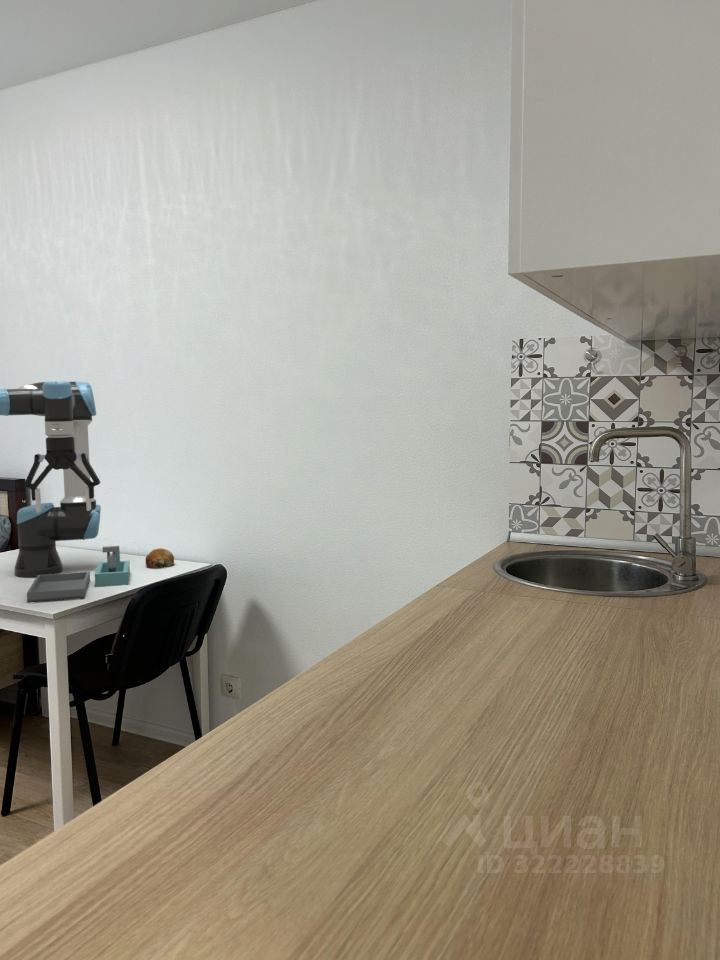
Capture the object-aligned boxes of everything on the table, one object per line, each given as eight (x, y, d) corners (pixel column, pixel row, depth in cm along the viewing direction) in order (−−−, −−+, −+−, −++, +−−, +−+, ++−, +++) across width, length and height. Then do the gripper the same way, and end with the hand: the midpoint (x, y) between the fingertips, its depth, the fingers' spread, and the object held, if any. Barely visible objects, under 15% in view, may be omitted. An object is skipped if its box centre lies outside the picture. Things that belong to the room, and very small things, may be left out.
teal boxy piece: (98, 574, 259) (97, 548, 258) (129, 572, 262) (128, 546, 261) (95, 586, 242) (93, 558, 241) (128, 584, 245) (127, 556, 244)
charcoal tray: (38, 584, 246) (38, 575, 246) (90, 580, 250) (89, 571, 250) (27, 603, 224) (26, 592, 223) (84, 598, 228) (83, 588, 228)
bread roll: (176, 573, 275) (179, 552, 278) (167, 567, 265) (170, 545, 268) (150, 573, 276) (152, 551, 279) (139, 567, 266) (142, 544, 269)
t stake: (104, 581, 249) (102, 546, 247) (120, 580, 250) (119, 545, 249) (104, 583, 246) (102, 548, 245) (120, 582, 248) (119, 547, 246)
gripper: (9, 438, 211) (14, 514, 214) (103, 436, 215) (107, 511, 218) (16, 436, 219) (21, 510, 221) (107, 434, 223) (111, 507, 225)
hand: (64, 511), depth 219 cm, fingers open, 13 cm apart
